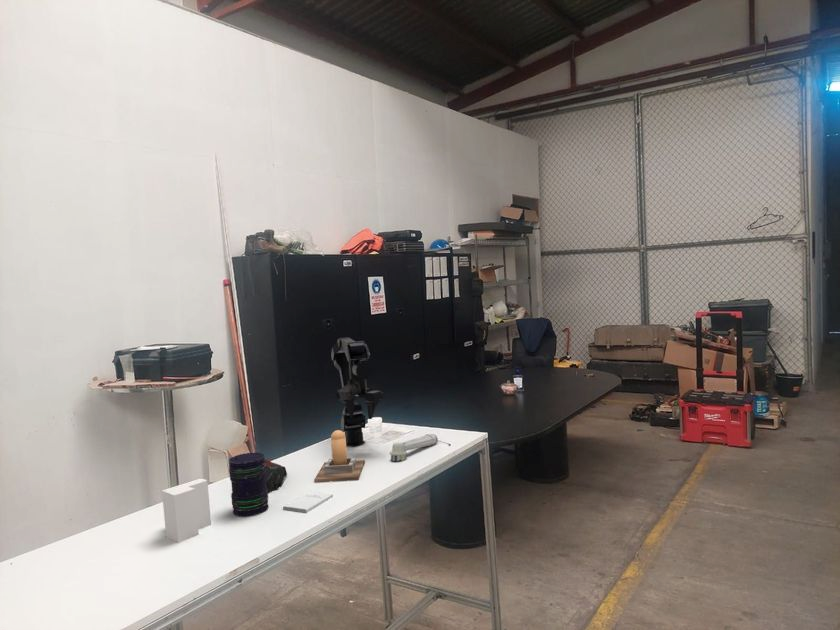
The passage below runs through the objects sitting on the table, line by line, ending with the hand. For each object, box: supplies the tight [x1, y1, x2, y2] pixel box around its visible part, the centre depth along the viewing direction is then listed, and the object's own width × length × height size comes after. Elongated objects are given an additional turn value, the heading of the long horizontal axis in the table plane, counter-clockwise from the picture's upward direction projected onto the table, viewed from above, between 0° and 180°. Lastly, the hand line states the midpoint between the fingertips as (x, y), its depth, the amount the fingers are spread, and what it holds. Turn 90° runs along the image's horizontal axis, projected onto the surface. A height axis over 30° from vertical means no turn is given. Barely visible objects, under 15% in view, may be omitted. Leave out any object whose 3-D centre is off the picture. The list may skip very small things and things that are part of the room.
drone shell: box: [264, 458, 288, 494], centre depth 187 cm, size 21×20×8 cm
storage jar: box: [228, 452, 269, 518], centre depth 164 cm, size 10×10×15 cm
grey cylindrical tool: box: [389, 433, 439, 462], centre depth 210 cm, size 5×7×25 cm
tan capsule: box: [330, 429, 348, 465], centre depth 193 cm, size 5×5×13 cm
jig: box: [314, 457, 366, 483], centre depth 193 cm, size 18×14×3 cm
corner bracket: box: [161, 478, 212, 544], centre depth 153 cm, size 11×11×12 cm
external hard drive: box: [282, 490, 334, 514], centre depth 166 cm, size 2×8×12 cm
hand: (360, 418), depth 213 cm, fingers open, 9 cm apart
